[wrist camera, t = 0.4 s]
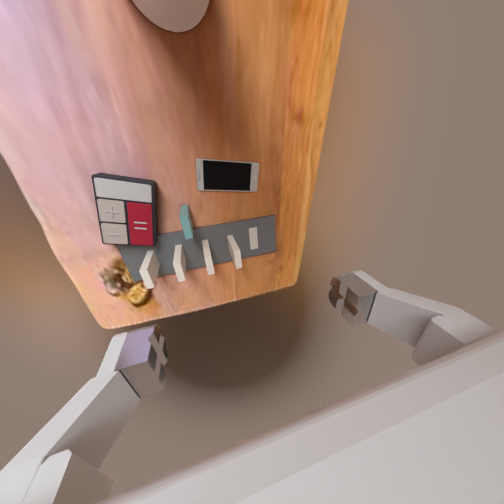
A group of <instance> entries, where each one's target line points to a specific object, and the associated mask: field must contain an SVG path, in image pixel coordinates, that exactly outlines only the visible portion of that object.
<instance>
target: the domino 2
mask: <svg viewBox="0 0 504 504" xmlns="http://www.w3.org/2000/svg"><path fill="white" fill-rule="evenodd" d="M173 266H174V269H175V272H176V275H177V278H178V281H179V282H180V281H185V280H186V258H185V254H184V251H183V247H182V244H180V245H175V252H174V259H173Z"/></svg>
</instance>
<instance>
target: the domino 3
mask: <svg viewBox="0 0 504 504" xmlns="http://www.w3.org/2000/svg"><path fill="white" fill-rule="evenodd" d="M180 220H181V224H182V228H183V231H184V235H185V239H191V238H193V224H192V219H191V215H190V211H189V207H188V205H182V206H181V212H180Z"/></svg>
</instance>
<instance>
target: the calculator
mask: <svg viewBox="0 0 504 504" xmlns="http://www.w3.org/2000/svg"><path fill="white" fill-rule="evenodd" d="M92 182H93V188H94V195H95V201H96V207H97V213H98V219H99V225H100V231H101V237H102V243H103V244H114V245H135V246H156V243H157V240H158V239H157V204H156V201H157V189H156V182H155V181H153V180H146V179H139V178H132V177H125V176H118V175H112V174H105V173H98V174H94V175H92Z"/></svg>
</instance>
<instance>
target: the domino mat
mask: <svg viewBox="0 0 504 504" xmlns="http://www.w3.org/2000/svg"><path fill="white" fill-rule="evenodd" d="M228 235H233V237H234V239H235V241H236V243H237V245H238V247H239V249H240V253H241V259H242V258H247V257H251V256H256V255H261V254H265V253H270V252H275V251H276V247H275V215H270V216H264V217H258V218H252V219H246V220H241V221H235V222H229V223H223V224H217V225H211V226H206V227H200V228H194V229H193V238H191V239H185V235H184V231H183V230H182V231H176V232H171V233H165V234H159V235H157V239H158V240H157V243H156V246H135V245H117V247H118V249H119V251H120V253H121V256H122V258H123V260H124V262H125V264H126V266H127V268H128V270H129V272H130V274H131V276H132V278H133V280H134V282H135V281H140V280H143V279H142V277H141V274H140V272H139V270H140V268H141V265H142V263H143V260H144V258H145V256H146V253H147V251H148V250H153V249H154V250H155V253H156V256H157V258H158V261H159V264H160V267H159V271H158V275H157V277H158V276H163V275H168V274H172V273H176V272H175V269H174V266H173V259H174V252H175V245H180V244H182V247H183V251H184V254H185V258H186V270H191V269H196V268H200V267H205V266H206V263H205V259H204V252H203V245H202V240H207V239H208V243H209V248H210V253H211V258H212V262H213V265H214V264H219V263H224V262H228V261H233V260H232V257H231V255H230V252H229V247H228V241H227V236H228Z"/></svg>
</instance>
